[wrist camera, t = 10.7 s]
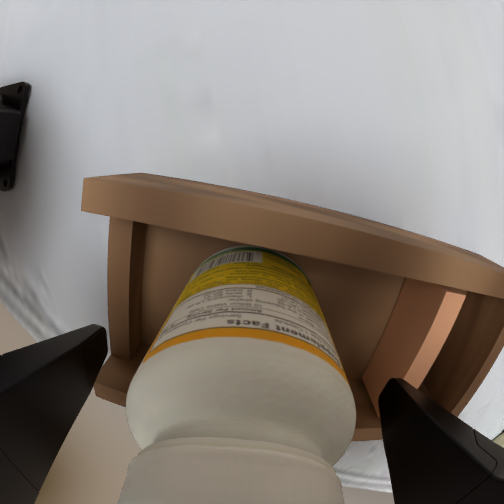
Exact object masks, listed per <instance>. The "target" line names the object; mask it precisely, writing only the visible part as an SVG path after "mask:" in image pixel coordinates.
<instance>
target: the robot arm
mask: <svg viewBox="0 0 504 504" xmlns="http://www.w3.org/2000/svg"><path fill="white" fill-rule="evenodd" d="M28 92H29V84H28V83H26V82H19V83H15V84H11V85H8V86H4V87H1V88H0V191H9V190H11V189H12V188H13V186H14V177H15V166H16V156H17V148H18V141H19V135H20V129H21V123H22V118H23V113H24V108H25V104H26V100H27V96H28ZM107 352H108V346H107V334H106V329H105V328H104V327H102V326H99V325H96V324H91V325H88V326H85V327H83V328H80V329H77V330H74V331H71V332H68V333H65V334H62V335H59V336H56V337H53V338H50V339H47V340H44V341H41V342H38V343H35V344H32V345H29V346H26V347H23V348H20V349H17V350H14V351H11V352H8V353H5V354H3V355H0V504H34V503H35V501H36V499H37V497H38V494H39V491H40V489H41V487H42V485H43V483H44V481H45V479H46V476H47V474H48V472H49V470H50V468H51V466H52V463H53V462H54V460H55V458H56V456H57V454H58V451H59V450H60V448H61V445H62V444H63V442H64V440H65V438H66V436H67V434H68V432H69V430H70V429H71V427H72V425H73V423H74V421H75V419H76V418H77V416H78V414H79V412H80V410H81V408H82V407H83V405H84V403H85V401H86V400H87V398H88V396H89V394H90V392H91V390H92V388H93V386H94V383H95V381H96V378H97V376H98V374H99V372H100V369H101V367H102V365H103V363H104V360H105V358H106V356H107ZM378 406H379V413H380V421H381V430H382V438H383V443H384V448H385V453H386V458H387V463H388V468H389V473H390V479H391V484H392V490H393V496H394V502H395V504H504V448H503V447H502V446H500V445H498V444H496V443H495V442H493V441H491V440H490V439H488V438H487V437H485V436H484V435H482V434H481V433H479V432H478V431H476V430H475V429H473V428H472V427H470V426H469V425H468V424H466V423H465V422H463V421H462V420H460V419H459V418H457V417H456V416H455V415H453V414H452V413H450V412H449V411H447V410H446V409H445V408H443V407H442V406H440V405H439V404H438V403H436V402H435V401H433V400H432V399H430V398H429V397H428V396H426V395H425V394H423V393H422V392H421V391H419V390H418V389H416V388H415V387H414V386H412V385H411V384H409V383H408V382H407V381H405V380H404V379H402V378H390V379H389V380H388V382H387V383H386V385H385V387H384V388H383V390H382V392H381V393H380V395H379V398H378Z"/></svg>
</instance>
